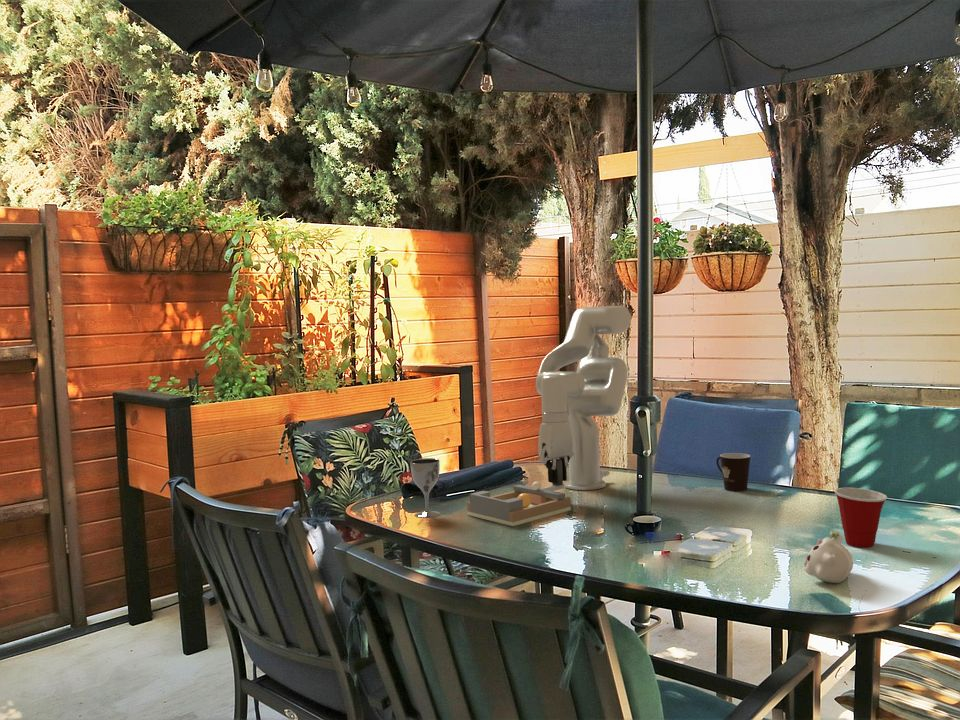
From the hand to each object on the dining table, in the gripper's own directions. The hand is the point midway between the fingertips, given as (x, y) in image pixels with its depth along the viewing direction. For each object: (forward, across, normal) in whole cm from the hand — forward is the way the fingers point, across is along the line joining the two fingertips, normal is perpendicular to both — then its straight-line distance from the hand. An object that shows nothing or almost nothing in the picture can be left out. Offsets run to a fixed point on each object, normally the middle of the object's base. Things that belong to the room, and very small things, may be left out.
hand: (557, 480), depth 237 cm
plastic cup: (+6, -14, +80) cm, 82 cm away
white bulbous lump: (+7, +12, +86) cm, 87 cm away
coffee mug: (+6, -46, +28) cm, 55 cm away
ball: (+3, +14, 0) cm, 14 cm away
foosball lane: (+6, +16, 0) cm, 17 cm away
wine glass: (+6, +34, -18) cm, 39 cm away
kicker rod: (+5, +4, 0) cm, 6 cm away
